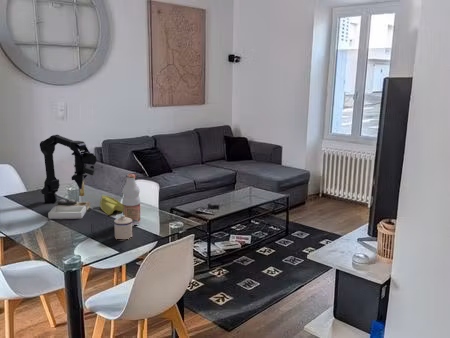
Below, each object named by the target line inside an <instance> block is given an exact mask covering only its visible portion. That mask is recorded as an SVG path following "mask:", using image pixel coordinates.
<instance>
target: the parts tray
mask: <svg viewBox="0 0 450 338" xmlns="http://www.w3.org/2000/svg"><path fill="white" fill-rule="evenodd" d="M47 213H48V214H47V215H48V220H74V219H75V220H76V219H77V220H78V219H79V220H80V219H83V217H84V216H85V215H86V213H87V211H86V206H56V205H54V206H53V207H52V209H51V210H49V211H48V212H47Z"/></svg>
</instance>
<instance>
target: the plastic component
mask: <svg viewBox="0 0 450 338" xmlns="http://www.w3.org/2000/svg"><path fill="white" fill-rule="evenodd" d="M99 205H100V209H101V210H102V211H103V212H104V213H106V215H109V216H111V215H112V214H113V213H114V212H115V211H118V212H122V213H123V202H121V201H119V200H117V199H116V198H114V197H111V196H109V195H106V194H101V196H100V200H99Z"/></svg>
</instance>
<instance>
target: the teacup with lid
mask: <svg viewBox="0 0 450 338" xmlns="http://www.w3.org/2000/svg"><path fill="white" fill-rule="evenodd" d="M113 224H114V225H113V226H114V238H115V240H117V239H128V240H130V239H131V238H130V237H132V238H133V226H132V219H131V218H127V217H125V215H123V214H122V215H121V216H120V217H118V218H116V219H114V220H113ZM129 238H130V239H129Z"/></svg>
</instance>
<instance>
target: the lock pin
mask: <svg viewBox="0 0 450 338" xmlns="http://www.w3.org/2000/svg"><path fill="white" fill-rule="evenodd" d="M78 196H80V197H82V196H85V180H83V182H82V189H79V188H78Z"/></svg>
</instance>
